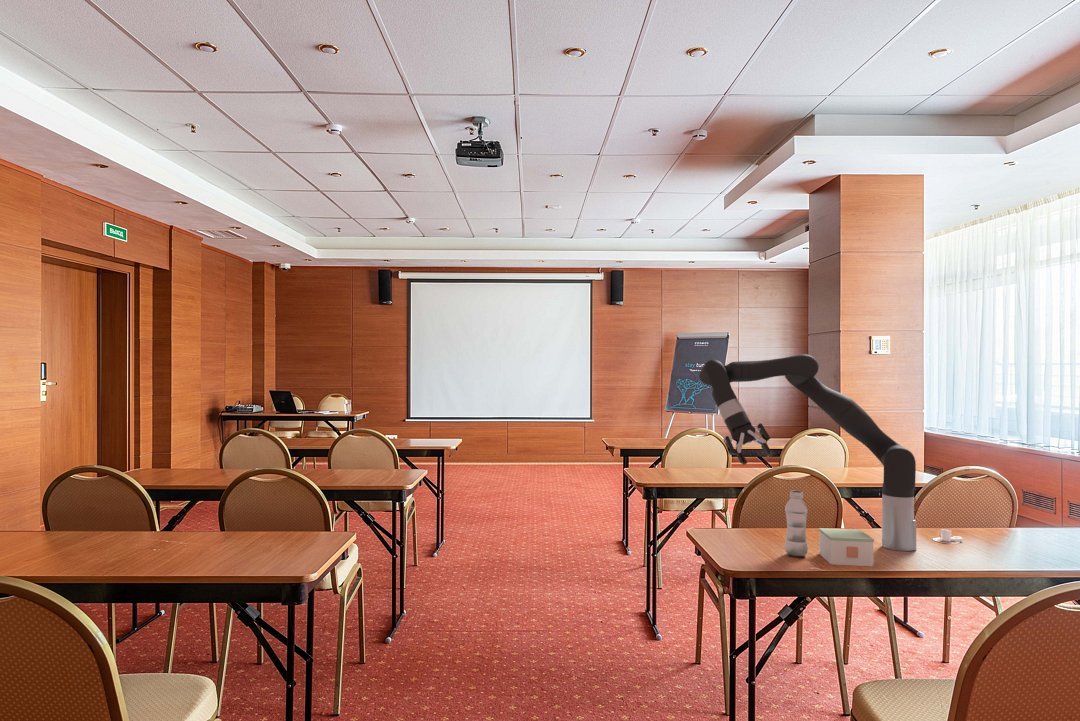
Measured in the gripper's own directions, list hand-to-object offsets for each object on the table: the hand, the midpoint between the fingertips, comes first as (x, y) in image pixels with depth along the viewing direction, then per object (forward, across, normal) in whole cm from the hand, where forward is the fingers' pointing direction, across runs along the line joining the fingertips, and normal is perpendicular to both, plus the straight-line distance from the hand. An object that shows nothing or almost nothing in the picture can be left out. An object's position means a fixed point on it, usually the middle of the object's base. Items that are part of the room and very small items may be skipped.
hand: (756, 459), depth 218 cm
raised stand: (+38, -10, +1) cm, 39 cm away
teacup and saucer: (+48, -58, -18) cm, 77 cm away
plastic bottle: (+32, +2, -3) cm, 32 cm away
